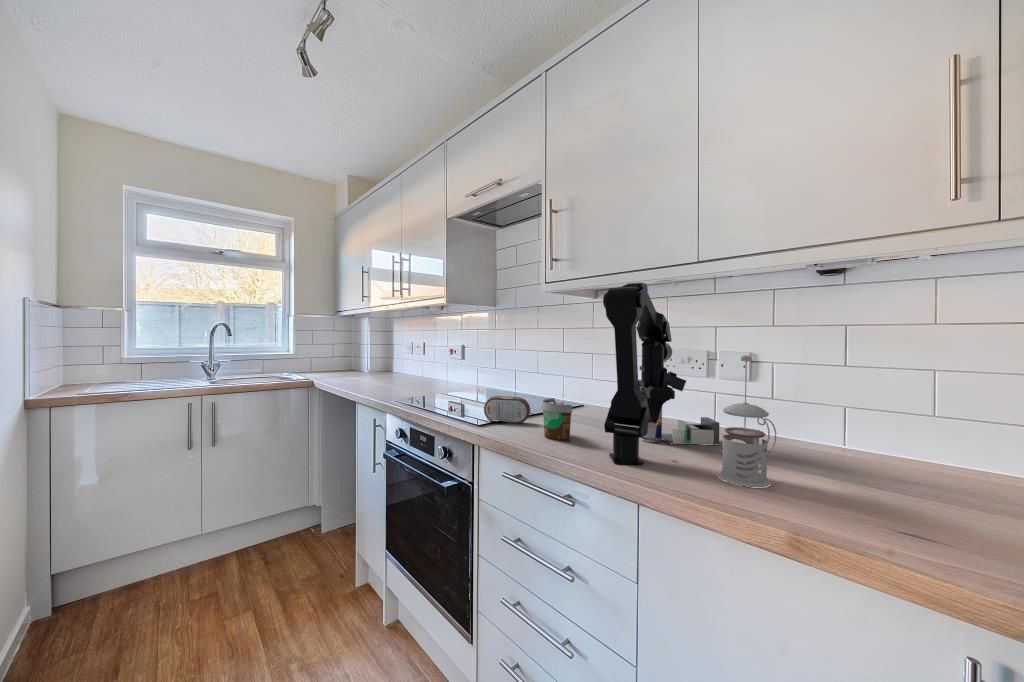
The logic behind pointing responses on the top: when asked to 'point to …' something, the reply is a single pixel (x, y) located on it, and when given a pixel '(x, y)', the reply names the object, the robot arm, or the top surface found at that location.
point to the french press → (745, 446)
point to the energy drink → (654, 430)
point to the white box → (686, 427)
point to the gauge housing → (696, 433)
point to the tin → (507, 409)
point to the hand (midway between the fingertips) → (651, 420)
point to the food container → (556, 420)
